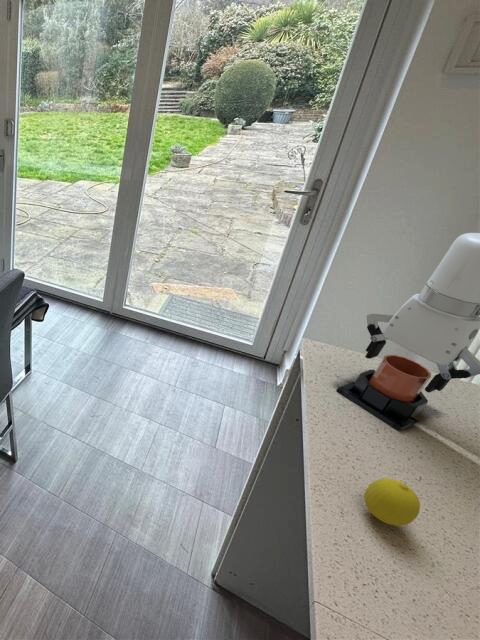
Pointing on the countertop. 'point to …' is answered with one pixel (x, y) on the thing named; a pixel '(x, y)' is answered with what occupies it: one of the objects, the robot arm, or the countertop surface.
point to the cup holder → (383, 402)
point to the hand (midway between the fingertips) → (399, 372)
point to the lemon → (392, 501)
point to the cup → (400, 378)
